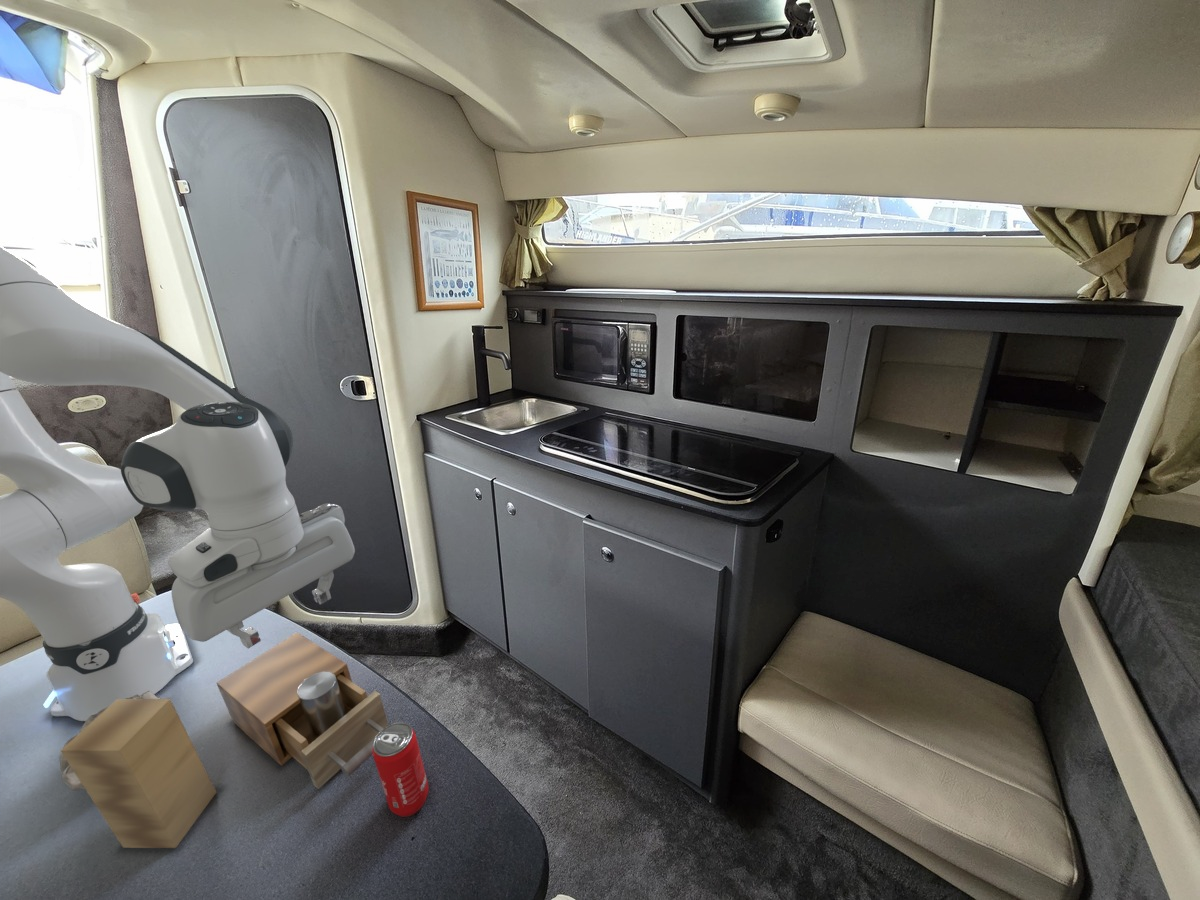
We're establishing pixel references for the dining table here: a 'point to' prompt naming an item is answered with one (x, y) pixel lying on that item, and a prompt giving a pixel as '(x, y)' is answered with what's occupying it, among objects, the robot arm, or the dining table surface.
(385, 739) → the beverage can
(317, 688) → the tin
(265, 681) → the cabinet
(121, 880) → the dining table surface
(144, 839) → the wooden block
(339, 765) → the drawer
